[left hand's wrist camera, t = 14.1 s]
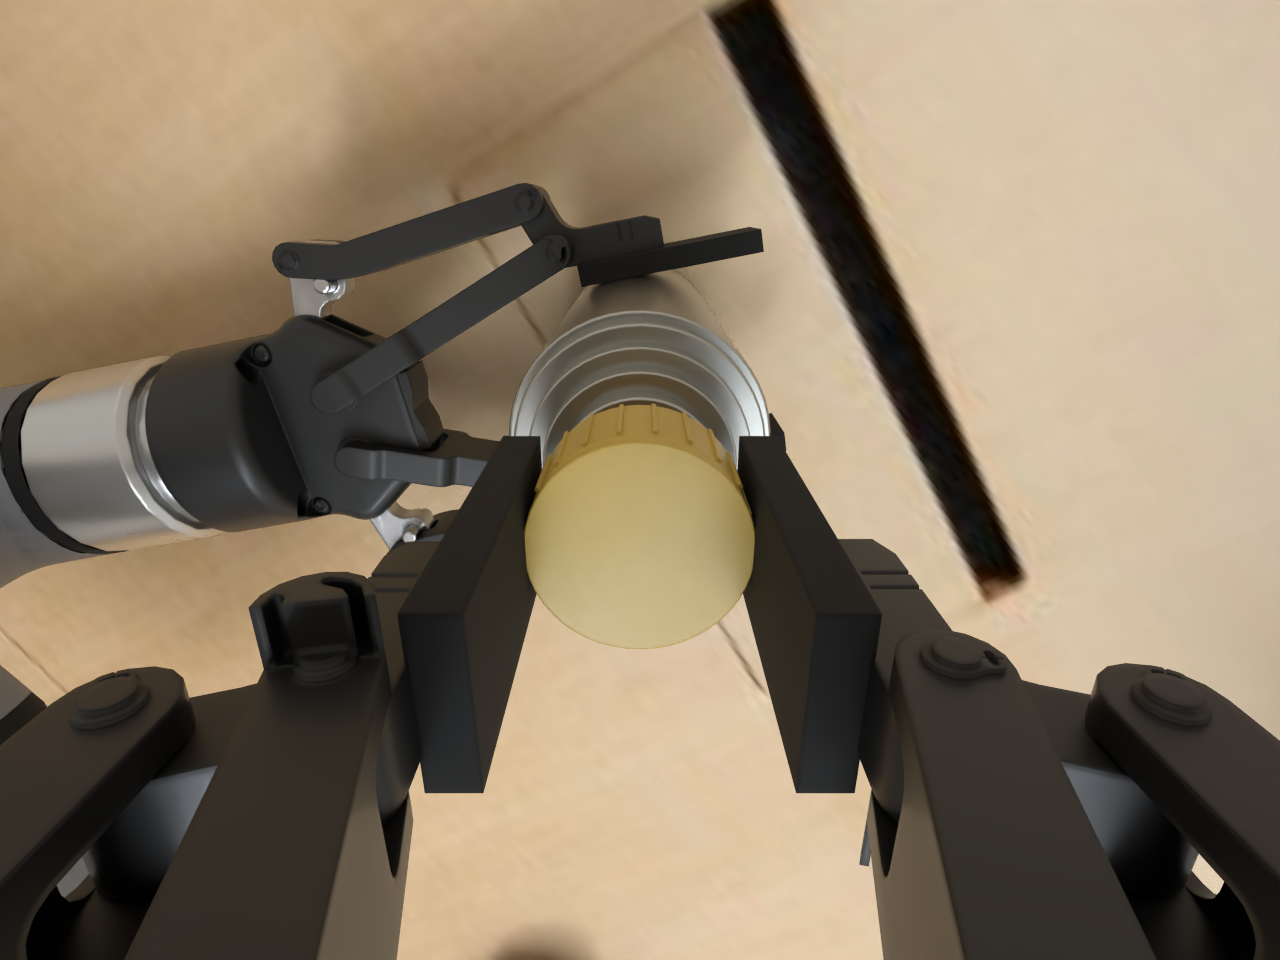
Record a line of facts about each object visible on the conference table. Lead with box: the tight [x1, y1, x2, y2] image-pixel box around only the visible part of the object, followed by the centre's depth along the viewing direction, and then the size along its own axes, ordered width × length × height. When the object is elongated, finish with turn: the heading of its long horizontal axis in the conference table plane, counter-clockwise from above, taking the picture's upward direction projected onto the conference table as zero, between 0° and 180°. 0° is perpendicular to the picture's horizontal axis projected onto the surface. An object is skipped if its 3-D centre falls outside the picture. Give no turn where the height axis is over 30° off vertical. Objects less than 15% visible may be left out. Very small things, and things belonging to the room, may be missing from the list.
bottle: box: [509, 270, 770, 469], centre depth 22 cm, size 7×7×21 cm
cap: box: [524, 404, 755, 649], centre depth 13 cm, size 4×4×2 cm
